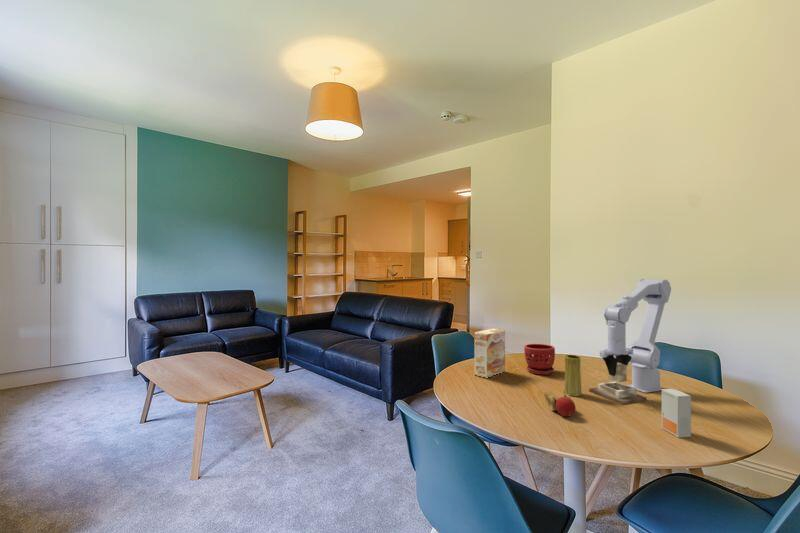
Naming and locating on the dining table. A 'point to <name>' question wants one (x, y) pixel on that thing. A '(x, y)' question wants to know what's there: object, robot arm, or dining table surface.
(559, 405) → the kendama
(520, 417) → the dining table surface
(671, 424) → the skincare box
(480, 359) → the coffeecake box
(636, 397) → the socket board
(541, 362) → the plant pot
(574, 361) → the vase
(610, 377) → the birch peg
